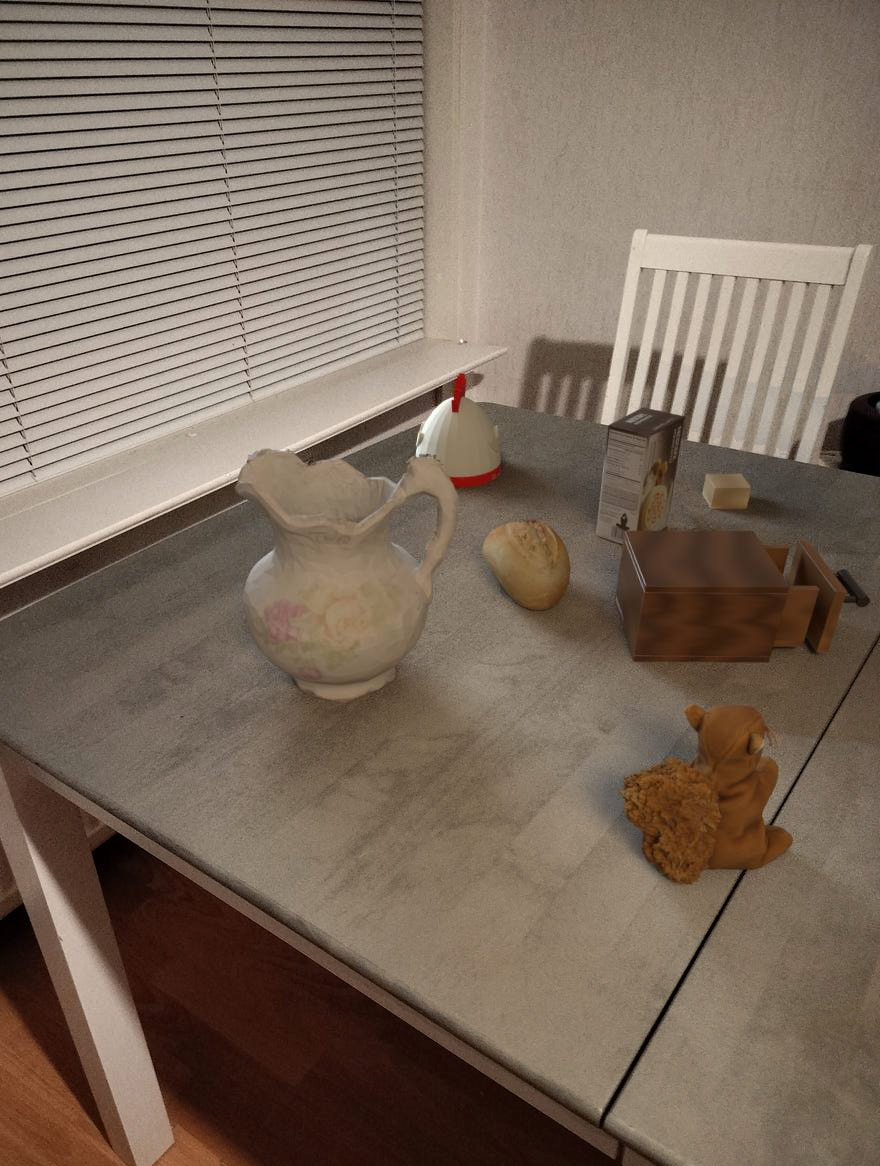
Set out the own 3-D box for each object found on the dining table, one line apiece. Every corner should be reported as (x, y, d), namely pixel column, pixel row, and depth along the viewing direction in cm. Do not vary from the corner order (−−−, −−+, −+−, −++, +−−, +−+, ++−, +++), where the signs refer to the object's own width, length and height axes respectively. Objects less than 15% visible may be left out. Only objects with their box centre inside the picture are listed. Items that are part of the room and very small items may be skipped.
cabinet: (736, 601, 103) (753, 530, 98) (769, 662, 93) (790, 586, 87) (614, 601, 104) (624, 530, 98) (633, 661, 93) (645, 585, 88)
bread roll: (532, 552, 114) (536, 497, 110) (587, 607, 103) (594, 549, 98) (466, 564, 112) (467, 509, 108) (514, 622, 100) (518, 563, 96)
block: (734, 505, 125) (741, 473, 122) (744, 520, 121) (751, 487, 118) (699, 505, 125) (706, 473, 123) (708, 520, 121) (715, 487, 118)
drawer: (828, 598, 102) (846, 540, 97) (867, 653, 92) (889, 591, 88) (677, 597, 102) (688, 539, 98) (701, 652, 93) (714, 590, 89)
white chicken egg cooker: (505, 456, 142) (510, 366, 134) (494, 490, 131) (498, 393, 123) (424, 450, 145) (423, 362, 137) (406, 483, 134) (404, 388, 126)
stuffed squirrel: (798, 845, 71) (841, 723, 64) (687, 929, 65) (720, 804, 57) (700, 778, 78) (728, 661, 71) (591, 848, 71) (609, 727, 64)
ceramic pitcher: (434, 621, 103) (429, 416, 90) (473, 711, 86) (473, 474, 74) (253, 642, 100) (223, 433, 88) (257, 739, 83) (221, 498, 71)
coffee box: (627, 513, 124) (643, 405, 114) (668, 526, 120) (687, 415, 111) (593, 536, 118) (607, 423, 109) (634, 550, 114) (652, 435, 105)
